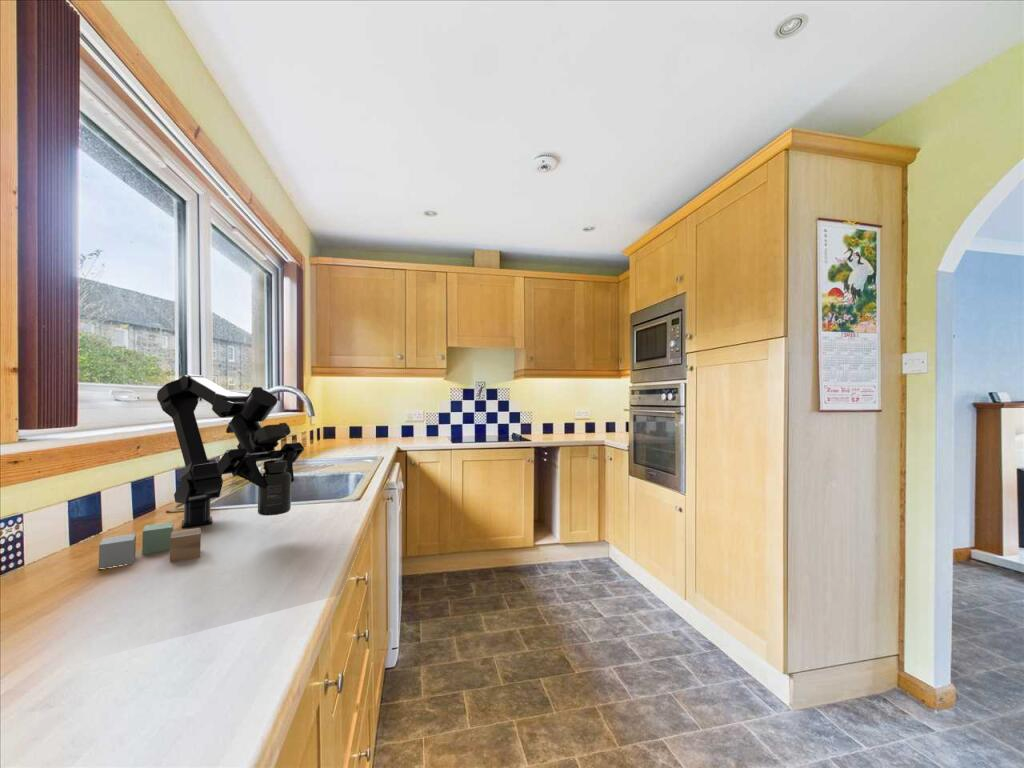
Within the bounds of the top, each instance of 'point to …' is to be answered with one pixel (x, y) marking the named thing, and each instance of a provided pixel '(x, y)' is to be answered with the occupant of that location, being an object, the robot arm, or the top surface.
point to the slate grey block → (117, 550)
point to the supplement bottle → (275, 489)
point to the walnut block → (185, 544)
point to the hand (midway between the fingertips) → (279, 484)
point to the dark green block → (157, 537)
